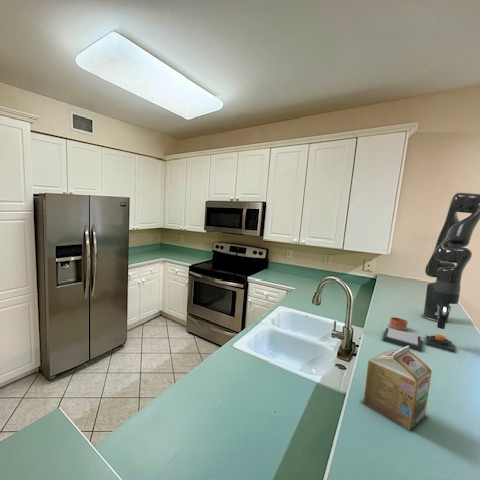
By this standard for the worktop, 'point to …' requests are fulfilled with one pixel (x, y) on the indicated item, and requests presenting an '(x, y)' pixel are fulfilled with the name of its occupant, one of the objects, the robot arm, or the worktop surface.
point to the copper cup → (398, 323)
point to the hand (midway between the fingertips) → (440, 328)
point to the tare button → (440, 337)
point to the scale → (402, 339)
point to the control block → (439, 343)
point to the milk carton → (398, 386)
